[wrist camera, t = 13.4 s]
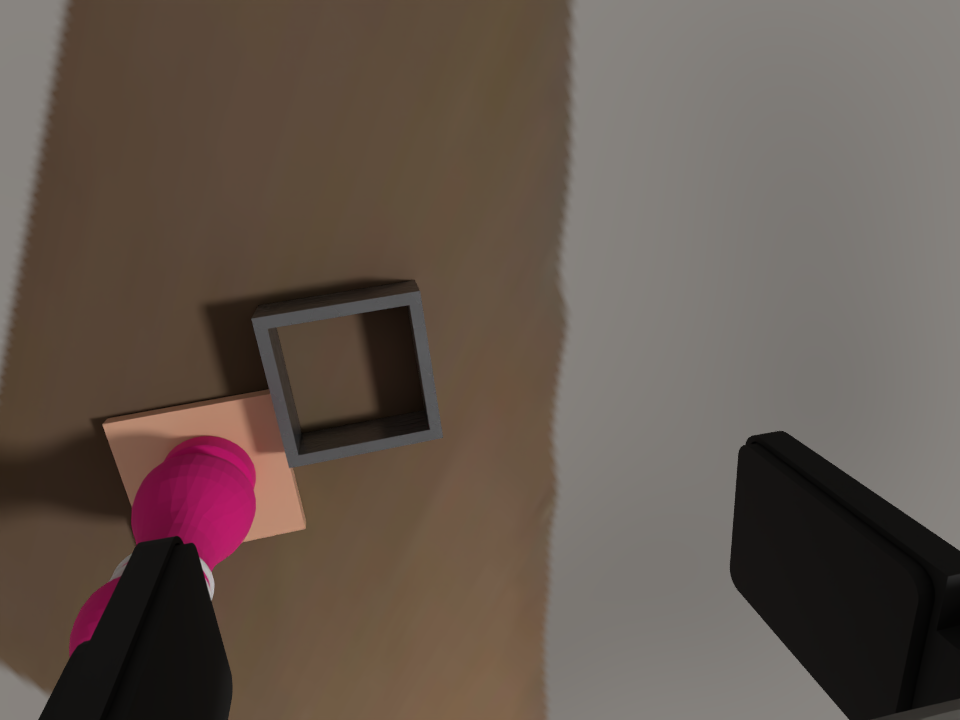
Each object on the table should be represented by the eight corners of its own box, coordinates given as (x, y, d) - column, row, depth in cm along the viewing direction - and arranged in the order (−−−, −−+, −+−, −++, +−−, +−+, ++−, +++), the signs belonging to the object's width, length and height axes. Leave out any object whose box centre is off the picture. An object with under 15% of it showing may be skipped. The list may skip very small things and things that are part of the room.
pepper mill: (191, 537, 46) (88, 798, 28) (131, 458, 44) (-27, 687, 25) (282, 491, 47) (240, 719, 28) (228, 410, 44) (142, 602, 26)
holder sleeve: (258, 305, 43) (251, 318, 40) (414, 280, 45) (419, 290, 42) (293, 445, 47) (289, 468, 44) (436, 417, 48) (442, 437, 45)
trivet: (107, 418, 44) (102, 424, 43) (272, 388, 45) (271, 393, 44) (154, 553, 47) (151, 561, 47) (306, 521, 49) (305, 528, 48)
